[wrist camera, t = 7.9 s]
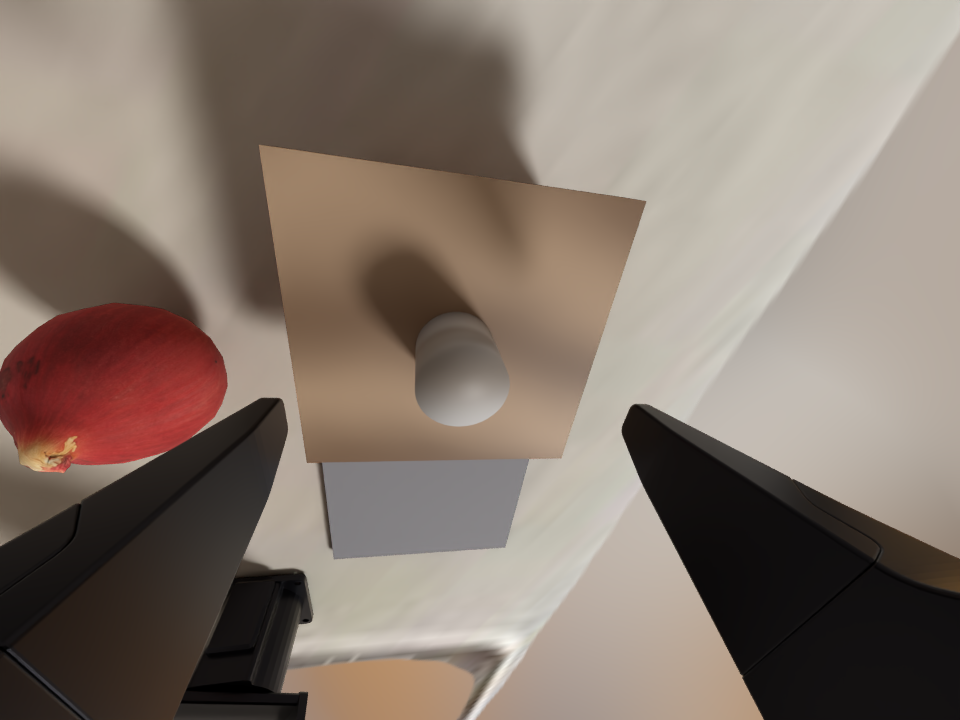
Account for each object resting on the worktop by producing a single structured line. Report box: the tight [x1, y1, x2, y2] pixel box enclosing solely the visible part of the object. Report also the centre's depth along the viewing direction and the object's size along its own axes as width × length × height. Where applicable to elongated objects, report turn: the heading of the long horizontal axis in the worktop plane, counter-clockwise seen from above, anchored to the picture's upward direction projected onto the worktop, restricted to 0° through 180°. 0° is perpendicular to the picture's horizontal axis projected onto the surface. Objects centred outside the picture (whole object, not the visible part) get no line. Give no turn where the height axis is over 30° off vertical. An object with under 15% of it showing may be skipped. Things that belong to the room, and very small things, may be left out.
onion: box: [0, 303, 228, 473], centre depth 13 cm, size 6×6×8 cm
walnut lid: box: [259, 145, 646, 463], centre depth 12 cm, size 11×11×4 cm
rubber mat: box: [322, 459, 529, 559], centre depth 24 cm, size 13×13×1 cm
